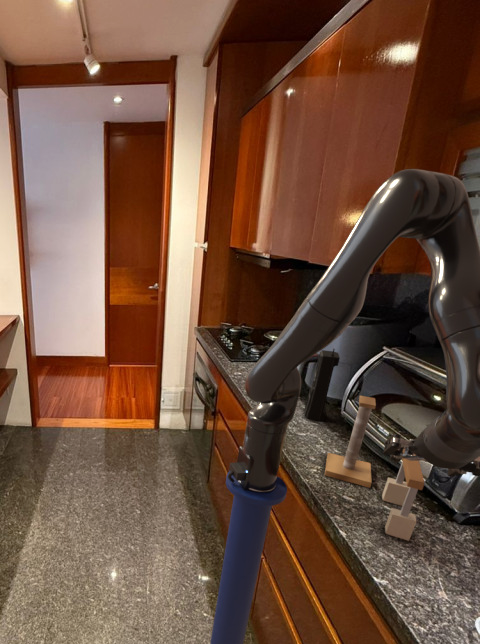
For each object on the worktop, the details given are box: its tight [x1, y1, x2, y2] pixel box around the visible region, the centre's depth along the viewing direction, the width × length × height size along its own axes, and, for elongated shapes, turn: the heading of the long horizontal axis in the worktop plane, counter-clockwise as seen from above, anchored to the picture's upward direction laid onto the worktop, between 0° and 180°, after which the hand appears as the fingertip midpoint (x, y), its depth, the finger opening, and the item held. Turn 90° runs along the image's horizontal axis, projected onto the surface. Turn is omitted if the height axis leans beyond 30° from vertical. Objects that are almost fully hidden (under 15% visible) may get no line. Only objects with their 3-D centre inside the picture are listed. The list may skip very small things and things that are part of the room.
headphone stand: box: [324, 395, 377, 489], centre depth 99 cm, size 10×10×21 cm
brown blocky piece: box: [381, 449, 426, 542], centre depth 85 cm, size 4×15×14 cm, turn 148°
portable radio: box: [303, 348, 341, 422], centre depth 129 cm, size 8×6×25 cm
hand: (422, 464), depth 76 cm, fingers open, 8 cm apart
